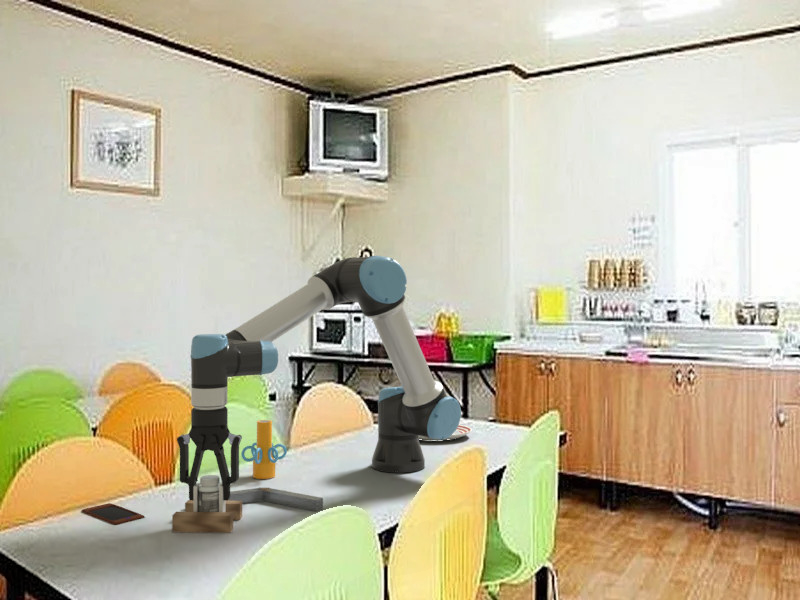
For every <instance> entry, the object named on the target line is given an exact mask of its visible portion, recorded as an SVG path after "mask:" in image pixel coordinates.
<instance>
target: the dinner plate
mask: <svg viewBox="0 0 800 600" xmlns="http://www.w3.org/2000/svg"><path fill="white" fill-rule="evenodd" d="M456 430H458V431H459V432H460V434H453V435H451V436H450V437H448V438H446V439H431V438H428V437H424V436H420V435H419V439H422V440H447V439H455V438H457V439H459V438H461V437H464V436H467V435H468V434H471V432H472V431H473V429H472V427H470V426H466V425H464V424H463V425H462V424H459V425H458V427H457V429H456ZM455 440H456V439H455Z"/></svg>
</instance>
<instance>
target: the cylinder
mask: <svg viewBox="0 0 800 600" xmlns="http://www.w3.org/2000/svg"><path fill="white" fill-rule="evenodd" d="M277 448H282V449H283V453H282V455H280V456H279V451H278V449H277ZM249 449H250V453H251V455H252V457H251V458H248V457H246V456H245V452H246V451H247V450H249ZM287 451H288V449H287V447H286V445H284V444H283V443H276V444H275V445H274V443H273V420H271V419H270V420H269V419H260V420H256V442H253V443H252V444H251V445H246V446H245V447H244V448H242V451H241V458H242V460H244V461H245V462H252V477H253V478H254V479H257V480H269V479H273V478H275V476H276V463H277V462H278V460H282V459H284V458H285V457H286V455H287Z"/></svg>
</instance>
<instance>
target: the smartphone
mask: <svg viewBox="0 0 800 600" xmlns="http://www.w3.org/2000/svg"><path fill="white" fill-rule="evenodd" d="M81 513H84V514H86V515H87V516H90V515H91V517H92V518H96V519H98V520H101V521H103V522H106V523H108V524H110V525H113V526H118V525H123V524H126V523H130V522H131V523H132V522H135V521H139V520H142V519H145V518H146V517H145V515H143V514H141V513H139V512H136V511H133V510H131V509H128V508H124V507H122V506H119V505H116V504H114V503H111V502H109V503H104V504H100V505H94V506H91V507H86V508H83V509H81Z"/></svg>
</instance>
